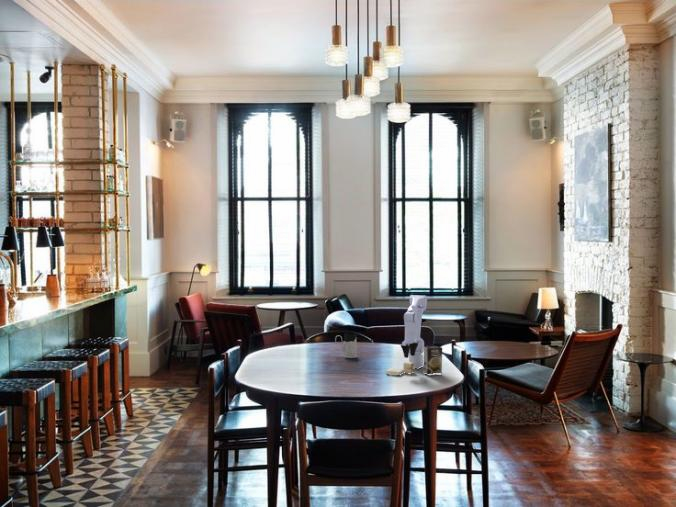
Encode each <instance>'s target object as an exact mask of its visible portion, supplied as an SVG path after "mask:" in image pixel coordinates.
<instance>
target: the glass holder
mask: <svg viewBox="0 0 676 507" xmlns="http://www.w3.org/2000/svg"><path fill="white" fill-rule="evenodd" d="M337 337H340V338H341V342H342V343H344V344H343V345H344V346H343V347H344V348H343V349H342V348H340V346H339V345H338V343H337ZM334 340H335V344H336V345H335V346H337V348H338V349H339V350H341V351H342V353H343V357H344V358H346V359H347V358H349V359H350V358H351V359H353V358H357V357H358V355H357V333H356V332H345V333H344V341H343V337H342V336H341V335H336V336H335V339H334Z"/></svg>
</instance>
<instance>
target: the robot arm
mask: <svg viewBox="0 0 676 507" xmlns="http://www.w3.org/2000/svg"><path fill="white" fill-rule="evenodd" d="M409 305H410V306H408V308H407V311H406V312H405V313H404V314H403V321H404V340H403V341H402V342H401V344H400V347H401V350H402V352H403V353H402V354H403V356H404V358H405V359H408V362H411V363H414V368H419V367H421V366H424V347H425V341H424V339H423V338H422V337H421V331H422V330H421V329H422V321H423V320H422V319H423V313H424V311H426V310H427V307H428V306H427V305H428V298H427V295H417V294H415V295H414V294H410V295H409Z"/></svg>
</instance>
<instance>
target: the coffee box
mask: <svg viewBox="0 0 676 507" xmlns="http://www.w3.org/2000/svg"><path fill="white" fill-rule="evenodd" d="M422 369H423V371H422V372H424V373H427V374H433V373H442V374H443V347H441V346H438V345H431V346H429V345H427V346H424V352H423V368H422Z"/></svg>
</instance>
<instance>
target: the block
mask: <svg viewBox="0 0 676 507" xmlns="http://www.w3.org/2000/svg"><path fill="white" fill-rule="evenodd" d="M402 369H404V372H405V373H412V372H414V373H415V369H414V363H411V362H409V361H405V362H403V368H402Z"/></svg>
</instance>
